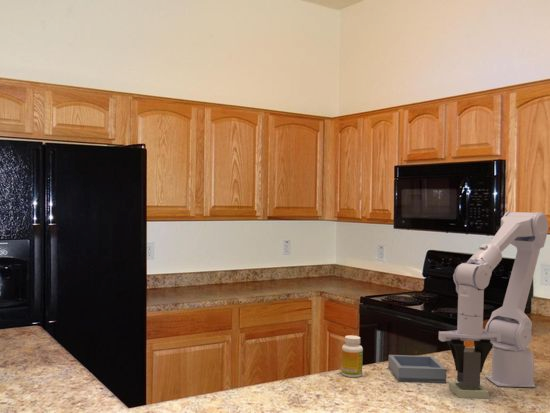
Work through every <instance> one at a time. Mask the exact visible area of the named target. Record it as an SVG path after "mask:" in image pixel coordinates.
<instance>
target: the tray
mask: <svg viewBox="0 0 550 413" xmlns="http://www.w3.org/2000/svg"><path fill="white" fill-rule="evenodd" d="M387 363H388V364H387V368H388V369H389V371H390V372H391V373H392V375H393V376H394V378H395V380H397V382H398V383H429V384H430V383H433V384H435V383H436V384H446V383H447V368H446V367H445V366H444V365H443V364H441V362H440V361H438V359H437V358H435V357H434V356H433V355H410V354H409V355H405V354H402V355H401V354H388V362H387Z"/></svg>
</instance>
